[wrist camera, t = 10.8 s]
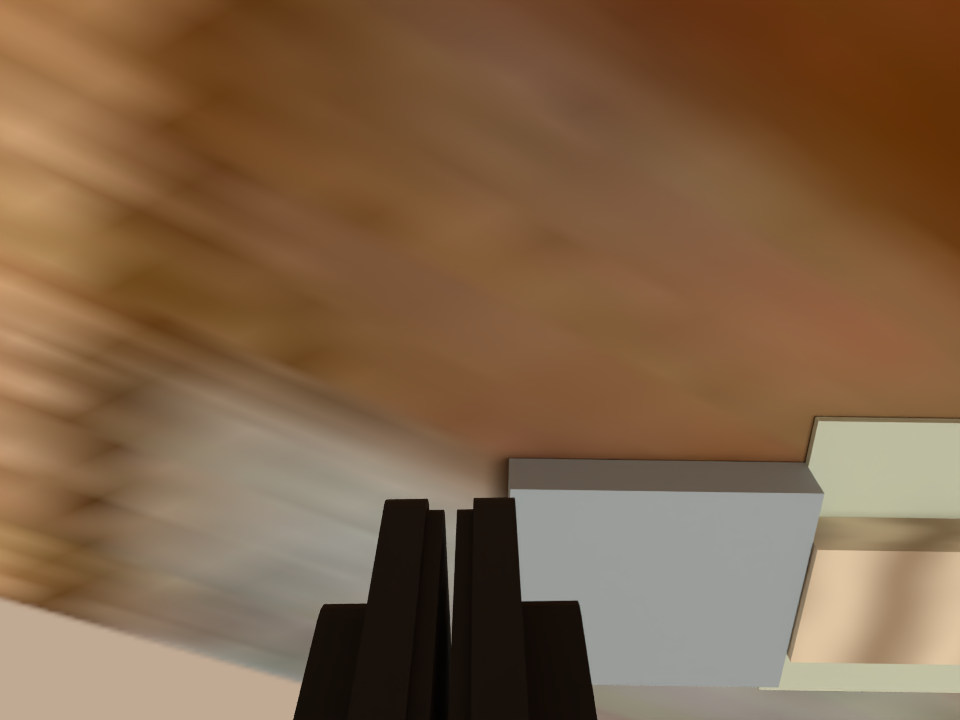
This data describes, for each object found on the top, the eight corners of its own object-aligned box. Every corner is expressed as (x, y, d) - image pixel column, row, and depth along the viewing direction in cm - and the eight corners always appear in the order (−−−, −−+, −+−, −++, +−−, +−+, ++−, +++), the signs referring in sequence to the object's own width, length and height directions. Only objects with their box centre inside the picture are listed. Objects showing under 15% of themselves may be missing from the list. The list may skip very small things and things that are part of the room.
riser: (805, 462, 39) (824, 493, 37) (763, 650, 45) (778, 687, 43) (509, 458, 39) (510, 489, 37) (503, 646, 45) (503, 683, 43)
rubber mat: (1164, 421, 38) (1171, 426, 38) (1047, 688, 46) (1052, 694, 45) (815, 416, 38) (818, 421, 38) (756, 683, 46) (758, 689, 46)
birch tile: (1006, 519, 40) (1036, 553, 38) (967, 628, 43) (993, 665, 41) (799, 516, 40) (817, 550, 38) (774, 625, 43) (790, 662, 41)
